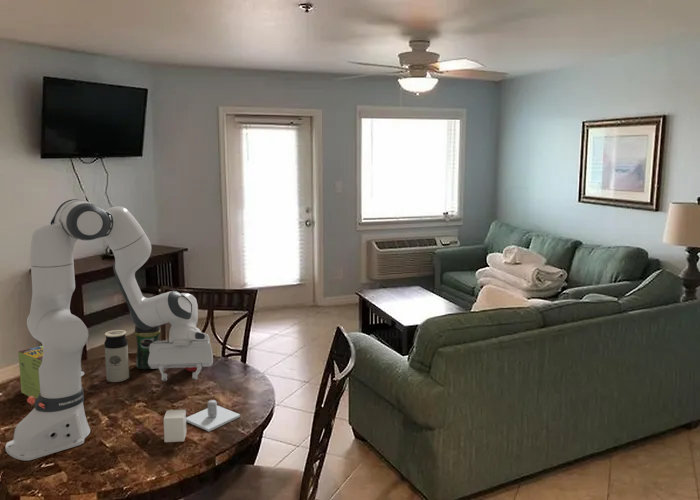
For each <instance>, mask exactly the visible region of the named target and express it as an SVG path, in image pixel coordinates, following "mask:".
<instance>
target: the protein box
mask: <svg viewBox="0 0 700 500" xmlns="http://www.w3.org/2000/svg"><path fill="white" fill-rule="evenodd" d="M42 358H43V346H42V345H40V346H35V347H30V348H27V349H23V350H19V351H18V363H19V364H18V365H19V378H20V390H21V391H20V392H21V394H24V395H25V396H27V397H28V398H29V397H30V396H33V397H34V398H36V399H37V398H38V396H39V394H40V382H39V367H40V365H41V364H42Z"/></svg>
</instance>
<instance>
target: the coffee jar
mask: <svg viewBox="0 0 700 500" xmlns="http://www.w3.org/2000/svg"><path fill="white" fill-rule="evenodd" d="M160 334H161V325H159V326H156V327H154V328H151V329H149V330H143V329H141V328H139V327H137V326H136V325H135V327H134V336H135V338H136V368H137V369H139V370H149V369H150V370H151V369H152V368H150V366H149V365H148V358H149V354H150V352H149V346H150V344H151V343H152V342H155V341H160ZM153 344H155V343H153Z"/></svg>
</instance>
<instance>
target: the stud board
mask: <svg viewBox="0 0 700 500" xmlns="http://www.w3.org/2000/svg"><path fill="white" fill-rule="evenodd" d="M239 418H241V414H240V413H238V412H235V411H233V410H230V409H227V408H225V407H222V406H221V405H218V402H217V400H216V399H210V400H208V402H207V407H206V408H204V409H203V410H200V411H198V412H196V413H193V414H190V415H189V416H186V423H189V424H191V425H193V426H195V427H197V428H199V429H202V430H205V431H207V432H211V431H214V430H215V429H218V428H220V427H222V426H224V425H226V424H228V423H230V422H233V421H235V420H237V419H239Z"/></svg>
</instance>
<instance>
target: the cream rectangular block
mask: <svg viewBox="0 0 700 500" xmlns="http://www.w3.org/2000/svg"><path fill="white" fill-rule="evenodd" d="M186 411H187V409H168V410H166V412H165V414H164V417H163V435H164V438H163V439H164V443H175V442H178V443H179V442H185V438H186V435H187V422H186V417H187V412H186Z"/></svg>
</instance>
